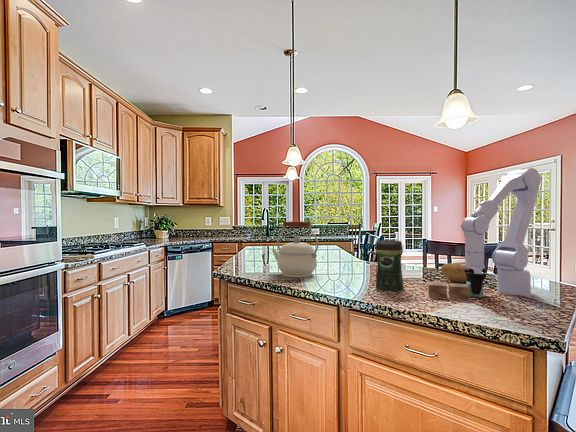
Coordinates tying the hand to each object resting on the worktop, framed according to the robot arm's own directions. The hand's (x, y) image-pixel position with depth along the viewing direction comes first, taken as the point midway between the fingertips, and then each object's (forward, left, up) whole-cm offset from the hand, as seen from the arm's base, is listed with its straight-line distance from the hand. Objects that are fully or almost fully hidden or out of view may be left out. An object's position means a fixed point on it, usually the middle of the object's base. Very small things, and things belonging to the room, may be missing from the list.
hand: (474, 291), depth 118 cm
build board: (+6, +4, -2) cm, 8 cm away
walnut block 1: (+12, +6, -1) cm, 13 cm away
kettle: (+72, -20, -2) cm, 75 cm away
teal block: (0, 0, -1) cm, 1 cm away
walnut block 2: (+6, +6, -1) cm, 8 cm away
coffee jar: (+28, -1, -2) cm, 28 cm away
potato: (+2, -26, -2) cm, 26 cm away
